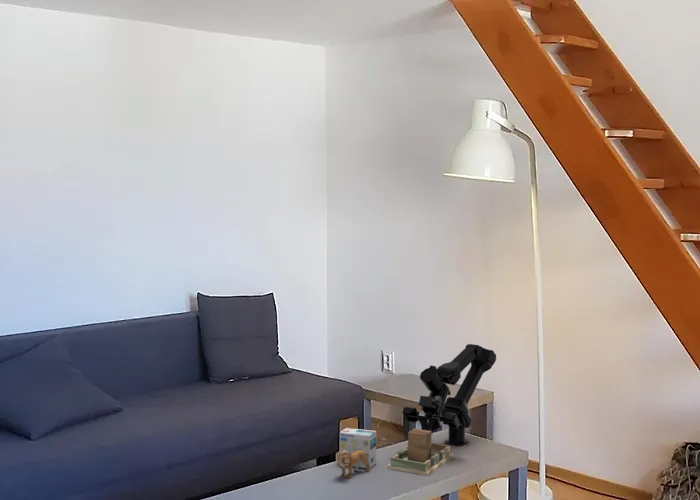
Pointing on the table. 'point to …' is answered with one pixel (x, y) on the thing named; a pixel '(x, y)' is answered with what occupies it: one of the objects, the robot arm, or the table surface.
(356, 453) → the lion figurine
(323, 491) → the table surface
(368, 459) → the light bulb box
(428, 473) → the beige flat tray
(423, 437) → the walnut block
